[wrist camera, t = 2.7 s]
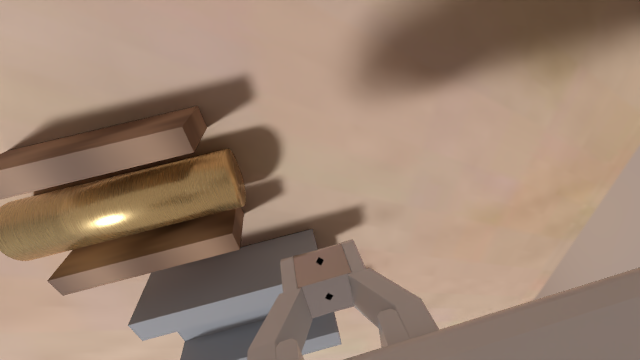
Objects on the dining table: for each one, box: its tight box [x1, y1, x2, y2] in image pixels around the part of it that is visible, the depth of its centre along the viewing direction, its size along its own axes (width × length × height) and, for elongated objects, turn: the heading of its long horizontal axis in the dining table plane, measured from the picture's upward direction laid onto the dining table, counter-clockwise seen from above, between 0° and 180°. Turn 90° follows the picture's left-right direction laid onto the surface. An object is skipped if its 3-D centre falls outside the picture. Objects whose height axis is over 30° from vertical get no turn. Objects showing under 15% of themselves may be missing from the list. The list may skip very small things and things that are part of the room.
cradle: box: [128, 229, 341, 360], centre depth 25 cm, size 14×10×5 cm
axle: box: [0, 149, 246, 261], centre depth 19 cm, size 14×4×4 cm, turn 101°
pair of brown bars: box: [0, 106, 244, 295], centre depth 19 cm, size 12×9×4 cm
